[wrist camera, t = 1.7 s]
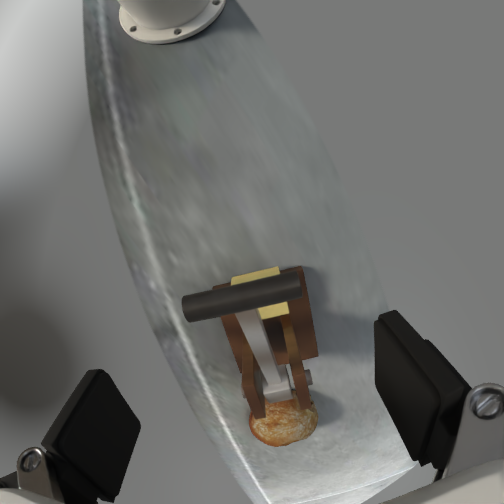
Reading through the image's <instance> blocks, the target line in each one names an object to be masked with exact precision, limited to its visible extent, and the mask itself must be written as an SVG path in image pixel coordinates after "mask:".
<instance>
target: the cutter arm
mask: <svg viewBox="0 0 504 504" xmlns="http://www.w3.org/2000/svg"><path fill="white" fill-rule="evenodd" d="M302 297H303V294H302V288H301V284H300V280H299V276H298V273H297V271H296V270H294V271H290V272H286V273H282V274H277V275H273V276H269V277H265V278H261V279H257V280H252V281H248V282H244V283H239V284H235V285H231V286H226V287H222V288H218V289H213V290H209V291H204V292H200V293H195V294H191V295H186V296H183V298H182V309H183V313H184V316H185V318H186V320H187V321H188V322H196V321H201V320H206V319H211V318H216V317H220V316H225V315H230V314H235V315H236V317H237V319H238V321H239V323H240V326H241V328H242V330H243V332H244V334H245V336H246V339H247V341H248V343H249V345H250V347H251V349H252V351H253V353H254V356H255V358H256V360H257V362H258V364H259V366H260V368H261V369H260V375H261V382H262V388H263V394H264V396H265V397H266V399H267V401H268V402H269V403H275V402H280V401H285V400H289V399H293V395H292V390H291V385H290V380H289V375H288V372H287V369H286V365H285V364H283V365H277V362H276V359H275V356H274V354H273V351H272V348H271V345H270V342H269V339H268V336H267V333H266V330H265V328H264V325H263V322H262V319H261V316H260V313H259V310H258V308H262V307H266V306H270V305H274V304H279V303H283V302H287V301H291V300H295V299H299V298H302Z"/></svg>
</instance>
